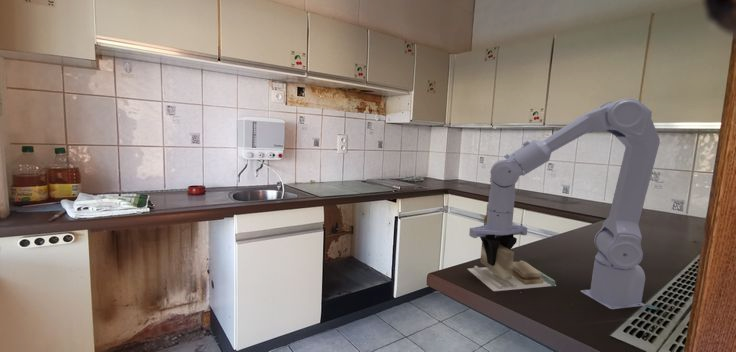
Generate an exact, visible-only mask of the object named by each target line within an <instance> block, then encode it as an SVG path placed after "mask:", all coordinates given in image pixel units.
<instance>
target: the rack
mask: <svg viewBox="0 0 736 352" xmlns="http://www.w3.org/2000/svg"><path fill="white" fill-rule="evenodd" d="M518 262H525V261H524V260H519V261H518ZM535 269H536V268H535ZM467 270H468V272H470V273H471V274H472V275H474V276H475V277H476V279H478V280H479V281H481V282H482V283H483V284H484V285H485V286H487V287H488V289H490V290H491V291H493V292H501V291H502V292H503V291H511V290H523V289H534V288H544V287H545V288H546V287H556V286H557V284H556V280H554V279H553V278H551V277H550V276H549V275H547V274H545V273H544V272H541V271H540V270H538V269H536V270H538V271H539V272H541V273H542V277H540V278H541V279H543V280H544V281H543V283H541V284H529V285H525V284H523V283H522V282H521V281H519V280H518V279H516V278H515V277H513V276H512V279H505V280H504V279H502V278H501V277H500V276H498V275H497V274H496V273H494V272H493V271H492V270H490V269H489V268H488V267H486V266H485V267H479V266H477V265H475V266H473V267H471V268H470V267H469V268H467Z"/></svg>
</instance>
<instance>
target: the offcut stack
mask: <svg viewBox="0 0 736 352" xmlns="http://www.w3.org/2000/svg"><path fill="white" fill-rule="evenodd" d="M539 271H540V270H539V269H537V270H536V268H535V267H533V265H531V264H530V263H529V262H527V261H524V262H519V261H513V269H512V276H513V277H515V278H516V279H518V280H519V281H521V282H522V283H523V284H525V285H529V284H541V283H543V281H544V280H543V279H541V278H540V277H542V273H543V272H542V273H541V271H540V272H539Z"/></svg>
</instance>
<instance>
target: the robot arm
mask: <svg viewBox="0 0 736 352" xmlns="http://www.w3.org/2000/svg"><path fill="white" fill-rule="evenodd" d="M652 113H653V112H652V110H651V109H649V107H647V106H646V105H645V104H644V103H642V101H640V100H638V99H635V98H624V99H623V98H622V99H619V100H617V101H609V102H608V101H607V102H605V103H604V104H602V105H600V106H599V107H596V108H594V109H592V110H589V111H588V112H586V113H584V114H582V115H580V116H579V117H577V118H575V119H574V120H573V121H571V122H569V123H568V124H566V125H565V126H562V128H560V129H559V130H557V131H555V132H554V133H553V134H551V135H549V136H548V137H547V138H544V140H538V139H537V140H536V139H533V140H531V141H529V140H526V141H524V142H523V143H522V147H520V148H518V149H517V150H515V151H514V152H512V153H510V154H508V153H506V154H505V155H504V159H500V160H498V161H496V162H494V163H493V164H492V167H491V169H490V170H489V171H490V172H489V173H490V176H491V178H492V180H491V182H490V186H489V187H490V189H489V193H488V203H487V204H488V215H487V224H486V225H484V224H483V225H480V226H477V227H476V226H475V227H470V228H469V235H468V236H470V237H471V238H473V239H477V238H480V240H481V243H482V242H483V245H484V248H485V251H486V256H487V263H489V264H490V265H491V266H494V265H495V262H496V253H497V250H498V247H499V244H501V245H502V246H504V247H506V248H508V249H509V250H511V251H512V249H513V247H514V246H515V245H516V244H517V240H518V239H517V238H516V237H515V236H519V235H522V236H528V227H527V226H524V225H513V220H514V219H513V218H514V211H515V210H514V208H515V200H516V192H515V190H516V188H515V187H516V183H517V182H518V181H519V178H520V176H526V175H527V174H529V173H531V172H532V171H535V169H537V168H539V167H541V166H542V165H544V164H546V163H547V162H549V161H550V159H551V156H552V153H554V152H555V151H556V150H559V149H560V148H563V147H565V146H566V145H567V144H569V143H571V142H573V141H575V140H576V139H579V138H580V137H582V136H584V135H586V134H588V133H593V132H594V133H595V132H607V133H609V134H612V135H613V136H615V137H616V138H617V140H618V141H620V143H622V145H624V147H625V148H624V152H623V157H622V161H621V166H620V169H619V174H618V178H617V181H616V186H615V190H614V194H613V198H612V202H611V207H610V211H609V214H608V217H607V218H606V219H604V221H603V223H602V226H601V228H600V230H598V231H597V232H596V233H595V236H594V239H593V242H594V245H595V248H596V249H598V251H597V253H596V255H595V256H594V263H593V268H592V269H593V270H592V275H591V277H592V278H591V283H590V289H583V290H580V292H581V293H582V294H584V295H586V296H588V297H589V298H591V299H593V300H594V301H596V302H598V303H599V304H601V305H603V306H605V307H606V308H608V309H611V310H617V309H626V308H635V307H643V306H646V304H645V303H643V302H642V301H643V294H644V288H645V284H646V275H645V271H644V269H643V268H642V267H641V266H640V265H639V264H641V262H642V260H643V258H644V257H643V256H644V251H643V250H642V244H641V243H642V238H643V236H642V233H641V230H640V225H639V223H640V219H641V215H642V212H643V208H644V203H645V200H646V196H647V193H648V189H649V185H650V181H651V178H652V174H653V170H654V165H655V163H656V158H657V155H658V152H659V146H660V143H661V141H660V140H661V139H660V136H659V134H658V132H657V129H656V126H655V124H654V121H653V119H652V116H653V115H652ZM495 236H496V238H495Z"/></svg>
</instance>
